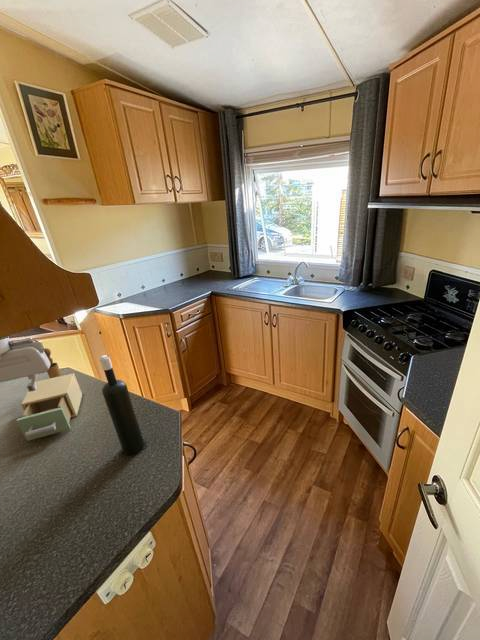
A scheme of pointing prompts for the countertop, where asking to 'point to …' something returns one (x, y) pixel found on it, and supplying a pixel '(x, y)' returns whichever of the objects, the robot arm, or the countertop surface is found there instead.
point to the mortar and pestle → (52, 366)
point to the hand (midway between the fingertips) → (11, 395)
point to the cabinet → (56, 392)
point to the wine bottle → (121, 410)
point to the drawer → (45, 418)
